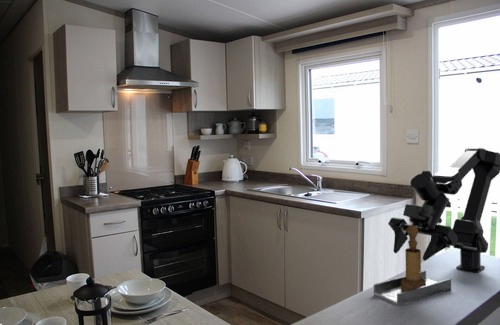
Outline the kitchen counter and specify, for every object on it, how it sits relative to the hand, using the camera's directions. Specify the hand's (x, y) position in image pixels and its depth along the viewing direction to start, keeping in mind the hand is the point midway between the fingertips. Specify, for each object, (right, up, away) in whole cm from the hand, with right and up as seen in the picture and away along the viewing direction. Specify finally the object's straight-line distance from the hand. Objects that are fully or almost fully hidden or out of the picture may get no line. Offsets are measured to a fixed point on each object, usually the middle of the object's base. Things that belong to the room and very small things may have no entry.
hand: (408, 256), depth 117 cm
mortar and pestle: (+2, -10, +2) cm, 10 cm away
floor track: (+2, -10, +2) cm, 11 cm away
